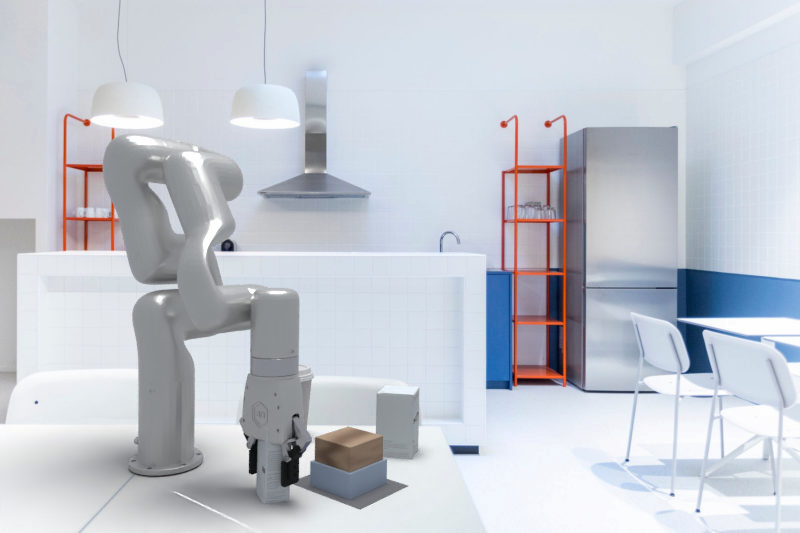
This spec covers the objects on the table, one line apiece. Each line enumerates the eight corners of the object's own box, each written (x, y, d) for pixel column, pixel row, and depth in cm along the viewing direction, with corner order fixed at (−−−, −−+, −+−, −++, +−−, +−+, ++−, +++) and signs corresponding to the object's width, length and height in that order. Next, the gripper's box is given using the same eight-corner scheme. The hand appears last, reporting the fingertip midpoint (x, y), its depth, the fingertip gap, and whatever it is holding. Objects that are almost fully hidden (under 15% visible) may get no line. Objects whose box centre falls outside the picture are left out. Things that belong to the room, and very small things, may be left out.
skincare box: (254, 492, 98) (255, 418, 97) (282, 488, 100) (283, 415, 99) (263, 507, 92) (263, 428, 92) (292, 502, 94) (292, 425, 94)
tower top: (314, 461, 100) (314, 437, 100) (348, 449, 106) (348, 426, 106) (350, 472, 95) (350, 447, 95) (382, 459, 101) (383, 435, 101)
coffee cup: (295, 429, 131) (295, 361, 131) (322, 440, 125) (323, 367, 124) (257, 439, 125) (257, 366, 124) (284, 450, 118) (284, 374, 118)
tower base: (310, 485, 100) (310, 461, 100) (347, 470, 107) (347, 447, 107) (349, 499, 94) (350, 474, 94) (386, 482, 101) (387, 459, 101)
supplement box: (412, 462, 113) (413, 394, 113) (374, 458, 114) (375, 392, 114) (419, 449, 120) (420, 386, 120) (383, 446, 122) (384, 383, 121)
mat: (288, 484, 101) (288, 482, 101) (339, 465, 110) (339, 463, 110) (359, 511, 91) (360, 509, 91) (408, 488, 100) (408, 485, 100)
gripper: (221, 362, 98) (220, 471, 98) (293, 378, 87) (292, 500, 87) (258, 356, 104) (257, 459, 104) (330, 370, 93) (329, 485, 93)
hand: (273, 477), depth 96 cm, fingers closed on skincare box, 7 cm apart
